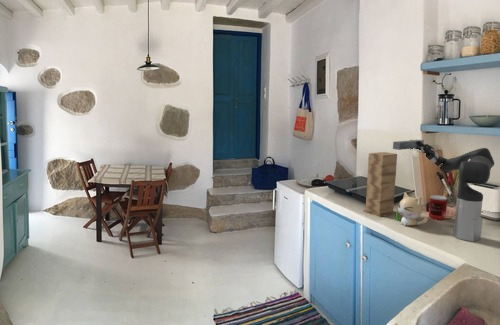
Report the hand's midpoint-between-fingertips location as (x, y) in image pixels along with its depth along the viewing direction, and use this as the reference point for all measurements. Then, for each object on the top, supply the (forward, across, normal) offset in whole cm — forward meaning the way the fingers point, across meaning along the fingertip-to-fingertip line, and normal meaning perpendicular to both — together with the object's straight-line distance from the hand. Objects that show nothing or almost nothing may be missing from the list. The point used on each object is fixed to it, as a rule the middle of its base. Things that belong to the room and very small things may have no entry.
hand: (414, 141), depth 189 cm
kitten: (+7, -20, -47) cm, 52 cm away
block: (+2, 0, -5) cm, 6 cm away
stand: (+4, 0, -45) cm, 45 cm away
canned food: (-12, -21, -36) cm, 43 cm away
